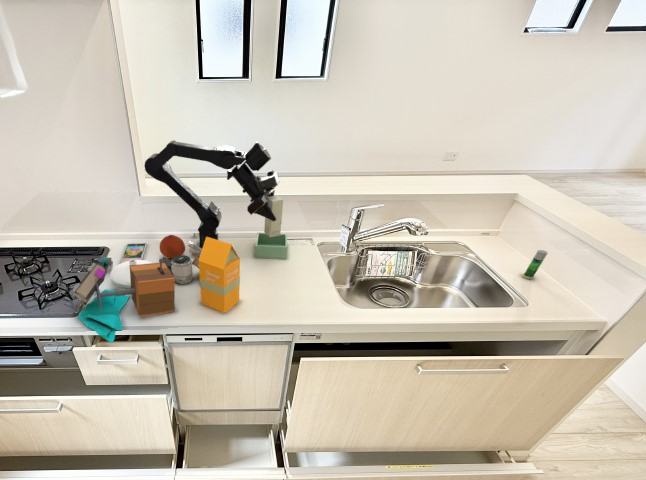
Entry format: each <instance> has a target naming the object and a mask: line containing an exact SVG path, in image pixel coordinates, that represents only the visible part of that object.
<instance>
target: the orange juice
mask: <svg viewBox="0 0 646 480" xmlns="http://www.w3.org/2000/svg"><path fill="white" fill-rule="evenodd" d="M198 258H199V268H198V269H199V270H198V272H199V287H200V303H201V305H202V306H206V307H209V308H210V309H213V310H216V311H218V312H220V313H223V314H226V313H227V312H228V311H230V310H231V309H232V308H234V307H235V306H236V305H237V304H238V303H240V284H241V283H240V282H241V281H240V280H241V279H240V278H241V275H240V274H241V258H240V256H239V255H238V253H237V251H236V250H235V248H234V246H233V244H232V243H229V242H225V241H223V240H219V239H218V240H216V239H213V238H210V237H206V239H205V242H204V245H203V248H202V251H200V254H199V257H198Z"/></svg>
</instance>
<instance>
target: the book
mask: <svg viewBox="0 0 646 480" xmlns="http://www.w3.org/2000/svg"><path fill="white" fill-rule="evenodd" d="M92 263H93V262H92ZM92 263H91V265H90V266H89V267H87V273H86V274H85V276H84V277H83V279H81V281H80V282H78V283H76V284H74V286H73V289H72V293H73V294H72V295H71V298H73V299H78V300H79V302H80V305H81V306H79V309H81V308H82V307H83V305H84V306H87V305H88V302H90V300H91V298H92V297H93V295H94V294H95V293H96V281H97V284H98V288H99V289H100V286H101V285H102V284H103V282H104V281H105V277H106V275H107V273H108V271H107V270H106V268H105V267H104V266H103V265H101V264H99V263H93V264H92ZM95 279H96V281H95Z"/></svg>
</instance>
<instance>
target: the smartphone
mask: <svg viewBox="0 0 646 480" xmlns="http://www.w3.org/2000/svg"><path fill="white" fill-rule="evenodd" d="M146 247H147V243H145V242H143V243H140V242H139V243H127V244H126V247H125V249H124V253H123V255H122V258H121V260H120V264H121V263H123V262H126V261H130V260H144V255H145V251H146Z"/></svg>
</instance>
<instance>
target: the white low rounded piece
mask: <svg viewBox="0 0 646 480" xmlns="http://www.w3.org/2000/svg"><path fill="white" fill-rule="evenodd" d="M151 263H153V262H152V261H150V260H146V259H142V260H130V261H126V262H123V263H121V262H120V263H119V264H117V265H116V266H114V267H112V269H111V271H110V272H109V278H110V280H111V282H112V283H113V284H115V286H117V287H120V288H124V289H131V281H130V265H140V264H151Z"/></svg>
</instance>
